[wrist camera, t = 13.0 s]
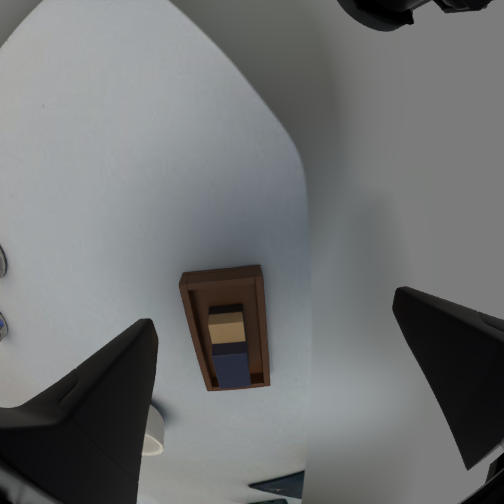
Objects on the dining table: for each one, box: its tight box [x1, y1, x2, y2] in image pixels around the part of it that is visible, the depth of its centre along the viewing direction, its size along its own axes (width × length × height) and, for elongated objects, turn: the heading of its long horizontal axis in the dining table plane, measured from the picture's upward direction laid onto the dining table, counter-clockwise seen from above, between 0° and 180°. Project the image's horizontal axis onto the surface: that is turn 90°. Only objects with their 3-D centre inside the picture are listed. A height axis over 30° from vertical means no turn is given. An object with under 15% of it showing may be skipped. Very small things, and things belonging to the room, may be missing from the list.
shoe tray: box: [179, 265, 270, 391], centre depth 23 cm, size 6×12×2 cm, turn 5°
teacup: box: [142, 404, 164, 456], centre depth 25 cm, size 10×8×5 cm
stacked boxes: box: [208, 304, 251, 389], centre depth 21 cm, size 6×3×4 cm, turn 5°
